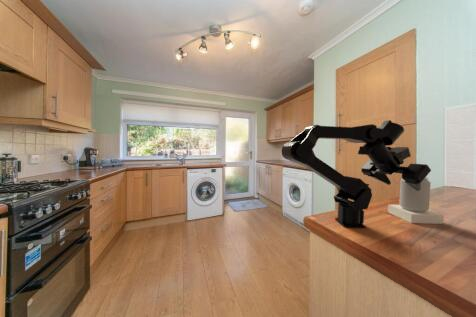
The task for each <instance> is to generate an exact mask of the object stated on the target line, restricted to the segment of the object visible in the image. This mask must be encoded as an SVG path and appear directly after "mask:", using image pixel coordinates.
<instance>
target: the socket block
mask: <svg viewBox="0 0 476 317" xmlns="http://www.w3.org/2000/svg"><path fill="white" fill-rule="evenodd" d="M387 213H389V214H391V215H393V216H395V217H398V218H400V219H402V220H404V221H406V222H407V223H411V224H432V225H433V224H435V225H436V224H437V225H439V224H441V225H444V220H445V219H444V218H445V215H444V214H442V213H440V212H436V211H433V210H431V209H429V210H427V211H425V212H415V211H410V210H406V209H404V208H402V207H401V206H400V205H399V204H387Z"/></svg>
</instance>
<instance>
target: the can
mask: <svg viewBox="0 0 476 317" xmlns="http://www.w3.org/2000/svg"><path fill="white" fill-rule="evenodd" d="M428 179H429V178H428V177H427V176H426V177H425V178H424V180H423V181H422V182H421V189H420V190H419V191H417V190H416V189H414V188H412V187H411V186H410V185H408V184H407V183H405V180H403V179H402V178H401V179H400V185H399V201H398V202H399V204H398V205H400V206H401V207H402V208H404V209H406V210H410V211H415V212H425V211H427V210H430V196H431V184H432V182H431V181H430V180H428Z"/></svg>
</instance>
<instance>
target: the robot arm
mask: <svg viewBox="0 0 476 317" xmlns="http://www.w3.org/2000/svg"><path fill="white" fill-rule="evenodd" d="M404 132H405V127H403V126H402V125H401V124H399V123H396V122H392V120H391V119H388V120H384V121H383V122H382V123H381V125H380V126H379V127H377V125H376V124H372V123H370V124H364V125H358V126H331V125H328V126H327V125H320V124H313V125H308V126H306V127H305V128H304V129H303V130H302V131H301V132H300V133H298V134H297V135H296V136H294V137H293V138H292V139H291V140H290V141H287V142H286V143H284V144H283V146H282V147H281V156H282V157H283V158H284V159H285V160H287V161H290V162H292V163H295V164H298V165H301V166H303V167H305V168H307V169H309V171H311V172H312V173H315V175H318V176H319V177H320V178H322V179H324V180H325V181H327V182H329V184H331V185H333V186H334V187H335V188H336V190H337V192H336V193H335V195H334V196H333V200H334V202H335V203H337V217H335V220H336V221H337V222H338V223H339V224H340V225H342V226H343V227H345V228H361V229H363V228H366V225H365V224H364V222H365V220H364V219H365V211H364V210H368V208H369V206H370V202H371V200H372V196H373V193H372V188H371V187H370V184H369V183H365V182H364V181H363V180H362V179H361V178H359V177H354V176H348V175H343V174H342V173H340V171H338V170H337V169H335V168H333V167H332V166H330V165H329V164H327V163H326V162H324V161H323V160H321V159H320V158H318V157H317V156H316V155H315V153H314V150H313V149H314V148H315V147H316V145H317V142H318V141H319V139H322V140H323V139H326V140H330V139H331V140H343V141H344V140H345V141H347V142H349V143H354V144H363V145H362V146H359V149H358V151H357V154H358V155H361V156H363V155H366V156H367V157H368V158H369V160H368V161H367V162H366V163H365V164H364V165H363V166H362V168H361V173H363V175H365V176H367V177H370V178H373V179H375V180H377V181H379V182H381V183H384V184H386V185H387V186H389V185H391V184H392V182H391V180H390V178H389V177H388V175H390V176H391V175H393V173H395V174H401V179H403V180H405V183H407V184H408V185H410V186H411V187H412V188H414V189H416V190H417V191H419V190H420V189H421V182H422V181H423V180H424V178H425V177H426V178H427V176H428V175H429V174H430V173H431V171H432V169H431V168H430V167H429V165H428V164H426V163H425V164H423V163H409V165H407V166H401V165H403V164H404V163H405V160H406V159H408V158H411V156H412V155H411V151H410V148H409V147H407V146H401V147H400V146H395V147H392V145H393V144H394V143H395V142H396V141H397V140H398V139H399V138H400V136H402V134H403V133H404Z"/></svg>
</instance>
